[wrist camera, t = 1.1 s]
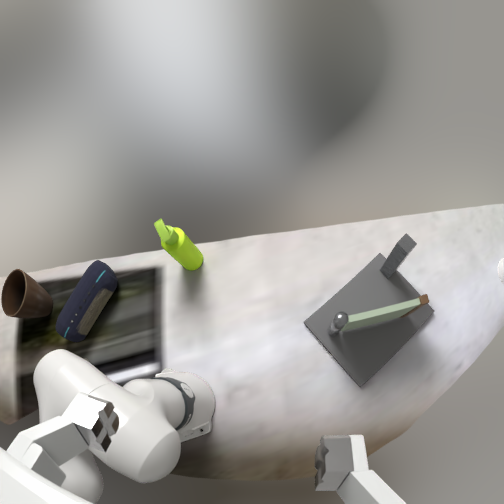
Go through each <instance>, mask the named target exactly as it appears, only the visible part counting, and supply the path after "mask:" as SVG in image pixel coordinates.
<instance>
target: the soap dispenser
mask: <svg viewBox="0 0 504 504" xmlns="http://www.w3.org/2000/svg"><path fill="white" fill-rule="evenodd" d="M154 225H155V227H156V229H157V232H158V234H159V236H160V238H161V245H162V247H163V249H165V250H166V251H167V252H168V253H169V254H170V255H171V256H172V257H173V258H174V259H175V260H176V261H178V262H179V263H180V264H181V265H182V266H183V267H184V268H185V269H187V270H190V271H193V270H196V269H198V268H199V267H200V266H201V265H202V262H203V255H202V253H201V252H200V251H199V250H198V249H197V247H196V246H195V245H194V244H193V243H192V241H191V240H190V239H189V238H188V237H187V236H186V234H185V233H184V232H183V231H182V230H181V229H179V228H172V227H171V226H165V224H164V222H163V220H162V219H160V220H158V221H157V222H155V223H154Z"/></svg>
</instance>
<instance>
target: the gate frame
mask: <svg viewBox="0 0 504 504" xmlns="http://www.w3.org/2000/svg"><path fill="white" fill-rule="evenodd" d="M416 245H417V243H416V242H415V241H414V240H413V239H412V238H411V237H410V236H409V235H407V234H405V235H404V236H403V237H402V238H401V239H400V240H399V241H398V242H397V244H396V245H395V247H394V249H393V250H392V252H391V253H390V255H389V256H388V258H387V259H386V258H385V257H384V256H383V255H382V254H381V253H379V254H378V255H377V256H376V257H375V258H374V259H373V260H372V261H371V262H370V263H369V264H368V265H367V266H366V267H365V268H364V269H363V270H361V271H360V272H359V273H358V274H357V275H356V276H355V277H354V278H353V279H352V280H351V281H350V282H349V283H347V284H346V285H345V286H344V287H343V288H342V289H341V290H340V291H339V292H338V293H336V294H335V295H334V296H333V297H332V298H331V299H330V300H329V301H327V302H326V303H325V304H324V305H323V306H322V307H321V308H319V309H318V310H317V311H316V312H315V313H314V314H312V315H311V316H310V317H309V318H308V319H306V320H305V321H304V323H305V325H306V326H307V327H308V328H309V329H310V330H311V331H312V333H313V334H314V335H315V336H316V337H317V338H318V339H319V341H320V342H321V343H322V344H323V345H324V346H325V348H326V349H327V350H328V351H329V352H330V353H331V354H332V356H333V357H334V358H335V359H336V360H337V361H338V362H339V364H340V365H341V366H342V367H343V368H344V369H345V370H346V372H347V373H348V374H349V375H350V376H351V377H352V379H353V380H354V381H355V382H356V383H357V384H358V385H359V387H361V386H362V385H363V384H364V383H365V382H366V381H368V380H369V379H370V378H371V377H372V376H373V375H374V374H375V373H376V372H377V371H378V370H379V369H380V368H381V367H382V366H383V365H385V364H386V363H387V362H388V361H389V360H390V359H391V358H392V357H393V356H394V355H395V354H396V353H397V352H398V351H399V349H400V348H401V347H402V346H403V345H404V344H405V343H406V342H407V341H408V340H409V339H410V338H411V337H412V336H413V335H414V334H415V332H416V331H417V330H418V329H419V328H420V327H421V326H422V325H423V323H424V322H425V321H426V320H427V319H428V318H429V317H430V315H431V314H432V313H433V312H434V310H433V309H432V308H431V307H430V306H429V304H428V303H427V304H426V305H424V306H422V307H421V308H419V309H418V310H416V311H414V312H413V313H411V314H409V315H408V316H406V317H403V318H400V317H398V318H395V319H391V320H387V321H383V322H379V323H375V324H371V325H367V326H363V327H359V328H355V329H350V330H346V331H341V329H342V328H343V327H344V326H345V325H346V323H347V322H348V319H349V317H348V316H349V315H354V314H358V313H363V312H367V311H371V310H375V309H379V308H383V307H387V306H391V305H395V304H399V303H403V302H406V301H410V300H414V299H417V298H418V297H419V296H421V295H420V294H419V293H418V292H417V291H416V290H415V289H414V288H413V287H412V286H411V284H410V283H409V282H408V281H407V280H406V279H405V278H404V277H403V276H402V275H401V274H400V273H399V272H398V271H397V269H398V268H399V266H400V265H401V264H402V263H403V261H404V260H405V259H406V258H407V256H408V255H409V254H410V252H411V251H412V250H413V248H414V247H415V246H416Z"/></svg>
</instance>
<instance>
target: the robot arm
mask: <svg viewBox="0 0 504 504" xmlns="http://www.w3.org/2000/svg"><path fill="white" fill-rule="evenodd" d="M34 386H35V389H36V393H37V398H38V404H39V417H40V424H39V425H36V426H34V427H32V428H29V429H27V430H24V431H22V432H20V433H19V434H18V436H17V437H16V438H15V440H14V441H13V442H12V444H11V445H10V447H9V448H8V449H7V451H5V450H3V449H2V448H1V447H0V504H96V503H97V501H98V499H99V497H100V495H101V494H102V491H103V479H102V475H101V473H100V470H99V469H98V467H97V464H96V462H95V460H94V457H93V454H95V455H96V456H97V457H98V458H99V459H100V460H102V461H103V462H104V463H105V464H107V465H108V466H109V467H110V468H112V469H114V470H116V471H117V472H119V473H121V474H123V475H125V476H127V477H129V478H131V479H134V480H135V481H138V482H140V483H149V482H154V481H157V480H160V479H162V478H164V477H165V476H167V475H168V474H169V473H170V472H171V471H172V470H173V469H174V468H175V466H176V464H177V462H178V460H179V457H180V453H181V442H184V441H187V440H190V439H193V438H196V437H198V436H201V435H204V434H207V433H209V432H210V431H211V429H212V423H211V418H212V415H213V412H214V409H215V398H214V394H213V392H212V389H211V388H210V386H209V385H208V383H207V382H206V381H205V380H204V379H202V378H201V377H200V376H198V375H196V374H193V373H188V372H176V371H174V370H172V369H164V370H163V371H162V372H161V373H160V374H156V377H154V378H151V379H135V380H132V381H130V382H128V383H127V384H125V385H124V386H123V387H121V386H119V385H118V384H116V383H114V382H113V381H112V380H110V379H109V378H108V377H107V376H105V375H104V374H103V373H102V372H100V371H99V370H98V369H97V368H95V367H94V366H93V365H92V364H91V363H89V362H88V361H86V360H84V359H82V358H81V357H79V356H77V355H75V354H73V353H71V352H69V351H67V350H63V349H59V350H55V351H52V352H50V353H48V354H46V355H45V356H44V357H43V358H42V359H41V360H40V361H39V363H38V365H37V367H36V369H35V372H34ZM201 429H203V431H201ZM315 468H316V469H317V470H318V471H317V473H316V475H315V491H335V490H337V493H338V494H339V496H340V497H341V498H342V500H343V501H344V502H345V504H406V503H405V502H404V501H403V500H402V499H401V498H400V497H399V496H398V495H397V494H396V493H395V492H394V491H393V490H392V489H391V488H390V487H389V486H388V485H387V484H386V483H385V482H384V481H383V480H382V479H381V478H380V477H379V476H378V475H377V474H376V473H375V472H374V471H373V470H369V468H368V461H367V454H366V448H365V442H364V437H363V435H331V436H322V437H321V440H320V445H319V446H318V447H317V450H316V454H315Z"/></svg>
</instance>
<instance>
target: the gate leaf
mask: <svg viewBox="0 0 504 504" xmlns="http://www.w3.org/2000/svg"><path fill="white" fill-rule="evenodd" d="M427 303H429V300H428V296H427V294H425V295H422V296H419V297H418V298H417V299H414V300H410V301H406V302H403V303H399V304H395V305H391V306H387V307H383V308H379V309H375V310H371V311H367V312H363V313H358V314H354V315H349V316H348V317H349V319H348V322H347V323H346V325H345V326H344V327H343V328H342V329H341V331H346V330H350V329H355V328H359V327H363V326H367V325H371V324H375V323H379V322H383V321H387V320H391V319H395V318H398V317H400V318H403V317H406V316H408V315H409V314H411V313H413V312H414V311H416V310H418V309H419V308H421V307H422V306H424V305H426V304H427Z"/></svg>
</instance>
